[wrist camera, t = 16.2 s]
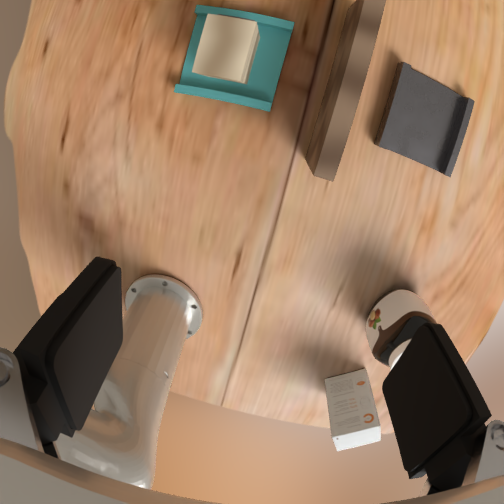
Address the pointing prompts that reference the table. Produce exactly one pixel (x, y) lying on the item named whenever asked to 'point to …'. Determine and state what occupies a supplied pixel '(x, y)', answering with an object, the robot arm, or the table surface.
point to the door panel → (344, 87)
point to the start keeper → (424, 120)
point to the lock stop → (227, 48)
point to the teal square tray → (263, 67)
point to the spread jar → (395, 324)
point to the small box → (352, 410)
